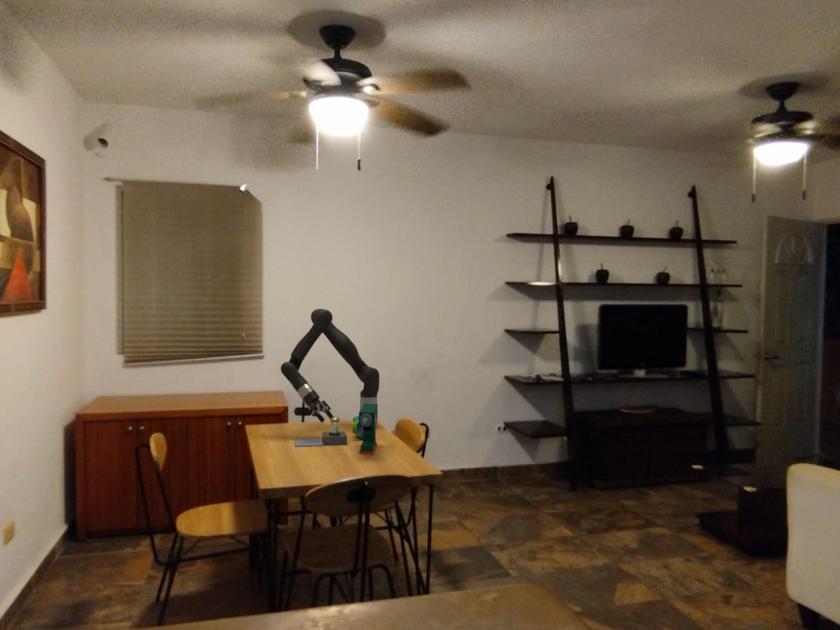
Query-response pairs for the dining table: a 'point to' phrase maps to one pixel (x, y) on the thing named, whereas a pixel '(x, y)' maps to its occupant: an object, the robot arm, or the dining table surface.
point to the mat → (308, 442)
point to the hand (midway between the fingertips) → (327, 419)
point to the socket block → (334, 438)
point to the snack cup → (357, 428)
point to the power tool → (368, 428)
